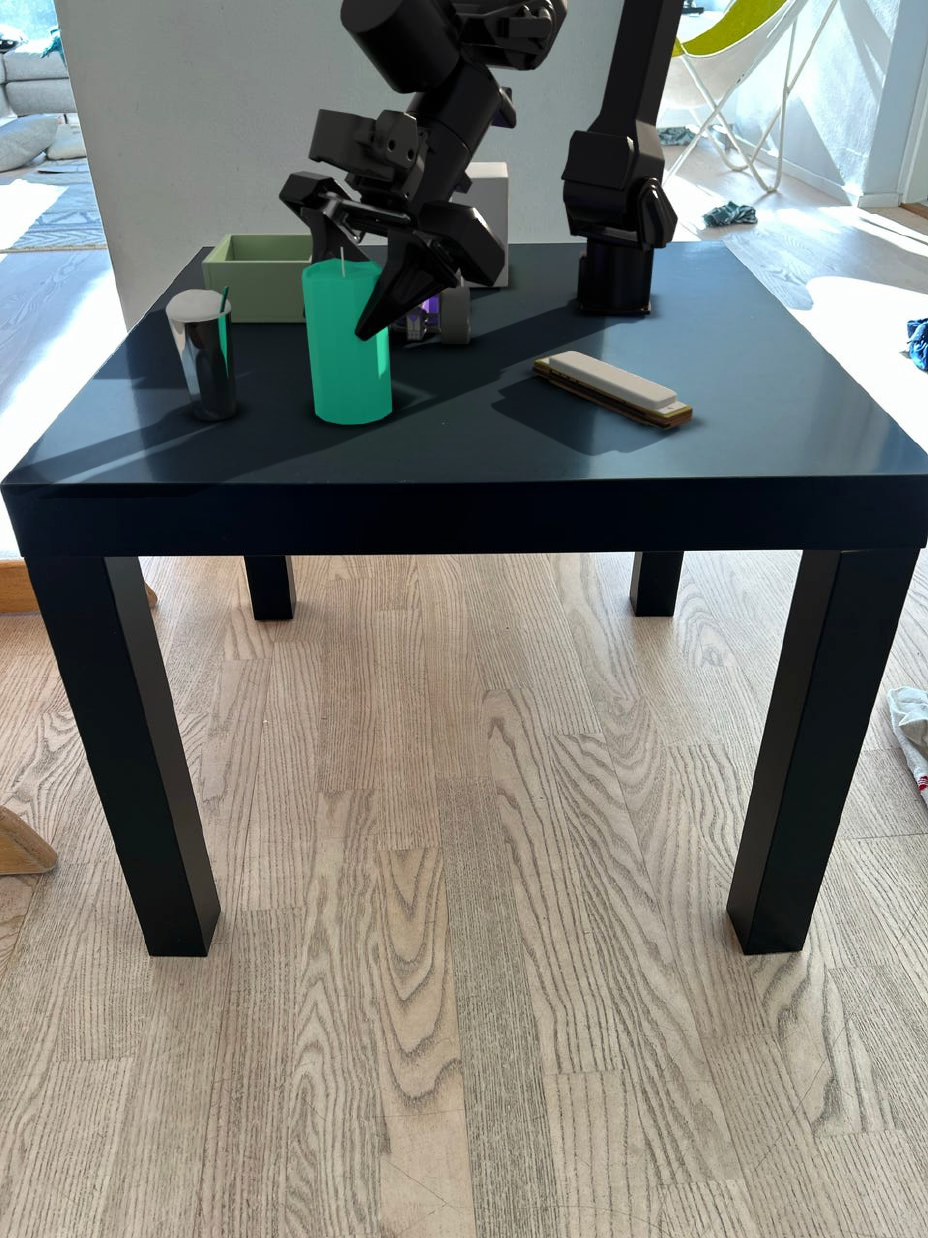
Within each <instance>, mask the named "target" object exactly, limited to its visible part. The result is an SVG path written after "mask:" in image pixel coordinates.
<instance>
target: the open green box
mask: <svg viewBox="0 0 928 1238" xmlns="http://www.w3.org/2000/svg"><path fill="white" fill-rule="evenodd" d="M312 249H313V239H312V235H311V233H226V234H225V235H224V236H223V238H221V240H220V241H219V242H218V243H217V244H216V245H215V247H214V248H212V250H211V251H210V252H209V254H208V255H207V256H206V257H205V258H204V259H203V260H202V262H201V268H202V275H203V281H204V287H205V290H213V291H215V292H217V293H219V294H221V295H223V291H224V287H227V286H229V289H228V294H227V300H228V301H229V302H230V304H231V318H232V323H269V324H271V323H275V324H276V323H279V324H280V323H285V324H286V323H287V324H289V323H294V324H295V323H297V324H298V323H301V324H302V323H304V324H305V323H306V319H305V318H304V317H303V308H304V294H303V284H302V274H303V269H305V268H307V267H309V266H311V260H312Z"/></svg>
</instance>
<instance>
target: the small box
mask: <svg viewBox="0 0 928 1238" xmlns="http://www.w3.org/2000/svg"><path fill="white" fill-rule="evenodd" d="M508 171H509V170H508V166H507V162H502V161H495V162H493V161H492V162H491V161H489V162H488V161H485V162H470V164H469V165H468V167H467V169H466V171H465V172H466V173H467V175H468V176H469V177H470V179H471V180H472V181H473V183H472V185H471V187H470V189H469V191H468V192H467V194H464V193H459V192H454V193H453V195H452V196H451V202H453V203H458V204H462V205H467V206H472V207H474V208H475V209H476V210H477V211H478V213H479V214H480V215H481V217H482V218H483V219H484V220H485V222H486V223H487V224H488V225H489V227H490V228H491V229H492V231H493V232H494V233H495V234H496V236H497V237H498V238H499V240H500V241H501V242H502V243H503V245H504V246H505V266H504V268H503V269H502V271H501V273H500V275H499V277H498V278H497V280H496V282H495V284H494V286H493V287H492V288H506V287H508V286H509V285H508V284H509V283H508V282H509V281H508V280H509V205H510V204H509V202H510V201H509V199H510V198H509V197H510V196H509V195H510V194H509V193H510V187H509V186H510V178H509V172H508ZM458 271H460V269H458ZM464 286H465V287H469V288H488V287H487V286H483V285H480V284H476V283H472V282H469V281H465V280H464Z"/></svg>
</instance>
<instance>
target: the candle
mask: <svg viewBox="0 0 928 1238" xmlns="http://www.w3.org/2000/svg"><path fill="white" fill-rule="evenodd" d="M341 257H342V260H341V259H336V258H334V259H330V260H326V261H322V262H318V263H315V264H313V265H311V266H309V267H307V268H305V269H303V274H302V284H303V294H304V304H305V314H306V334H307V343H308V350H309V351H308V352H309V362H310V372H311V382H312V383H311V384H312V393H313V402H314V412H315V413H314V414H315V415H316V416H317V417H318V418H320V419H322V420H323V421H324V422H328V423H331V424H332V423H333V424H338V425H345V426H346V425H365V424H369V423H372V422H376V421H380V420H382V419H384V418H386V417H387V416H388V415H390V414H391V413H392V412H393V397H392V379H391V362H390V359H391V358H390V341H389V340H390V338H389V339H388V326H387V327H386V328H384V329H383V330H381V331H380V332H379V333H377V334H376V335H374V336H373V337H371V338H370V339H369V340H367V341H362V340H360V339H359V338H358V337H357V336H356V335H355V333H354V332H355V329H356V326H357V323H358V321H359V318H360V316H361V314H362V312H363V310H364V308H365V306H366V304H367V302H368V300H369V298H370V296H371V294H372V292H373V290H374V287H375V284H376V282H377V280H378V278H379V276H380V274H381V272H382V270H383V267H382V266H380V264H378V263H377V262H376V261H375V260H370V261H368V262H352V261H347V260H344V257H343V247H341Z"/></svg>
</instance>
